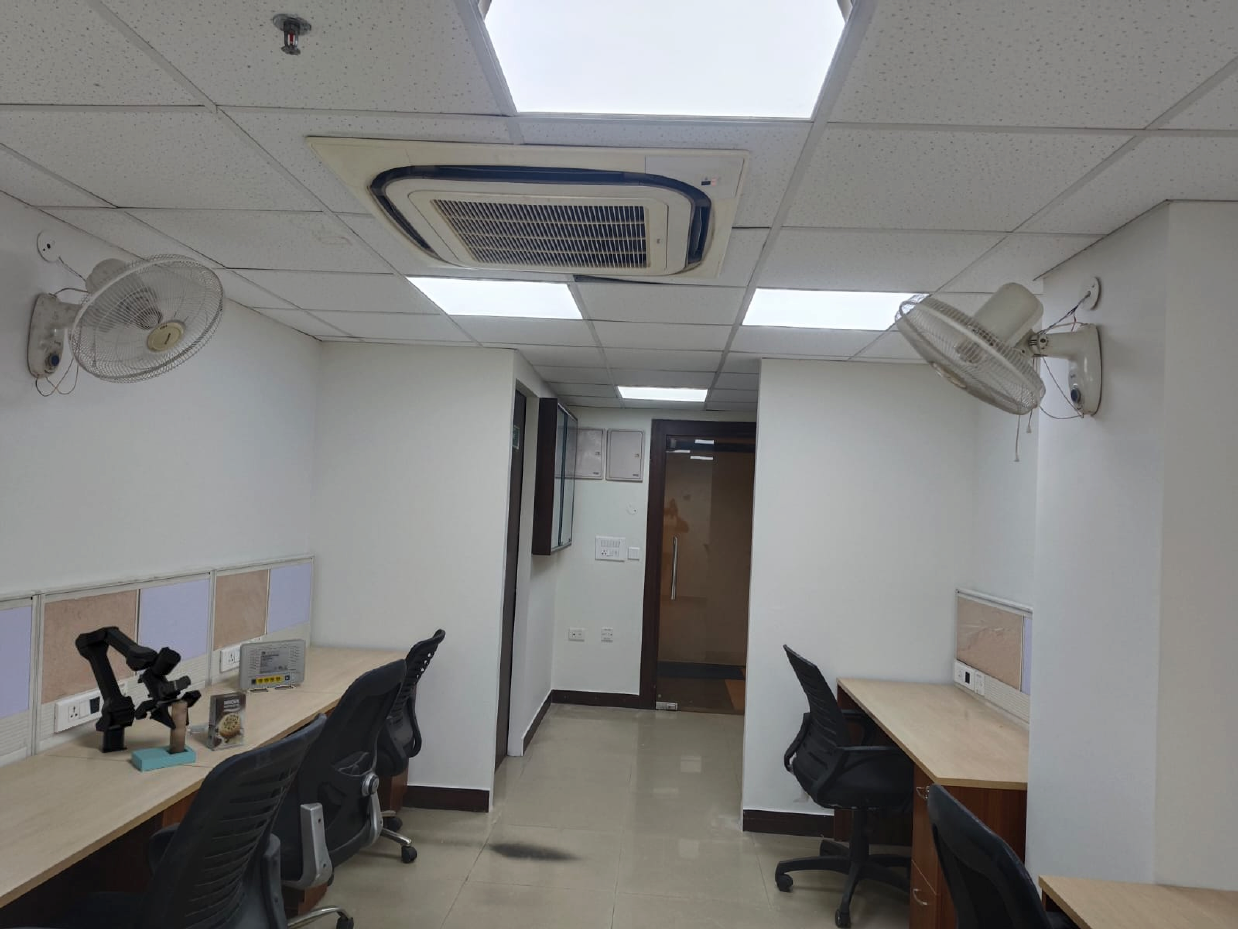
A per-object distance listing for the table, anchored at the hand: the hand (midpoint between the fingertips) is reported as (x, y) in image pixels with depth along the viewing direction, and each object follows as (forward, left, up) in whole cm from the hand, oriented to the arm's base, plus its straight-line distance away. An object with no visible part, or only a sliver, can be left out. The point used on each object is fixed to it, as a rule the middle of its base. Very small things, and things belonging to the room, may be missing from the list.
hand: (181, 727), depth 235 cm
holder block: (-3, -3, -10) cm, 11 cm away
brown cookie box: (-8, +16, -10) cm, 20 cm away
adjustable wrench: (-37, +21, -11) cm, 44 cm away
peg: (-1, -1, -8) cm, 8 cm away
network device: (-80, +57, -10) cm, 99 cm away
